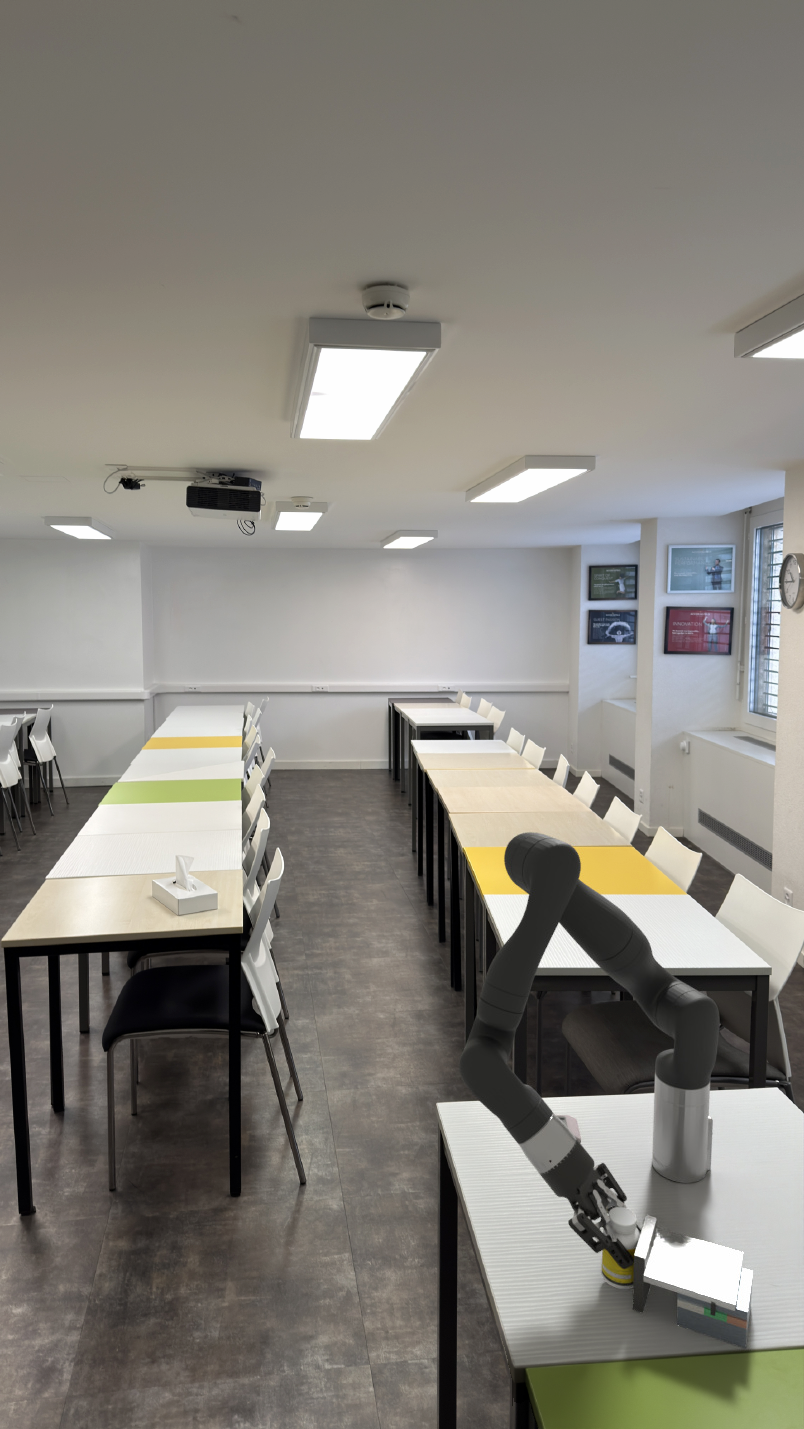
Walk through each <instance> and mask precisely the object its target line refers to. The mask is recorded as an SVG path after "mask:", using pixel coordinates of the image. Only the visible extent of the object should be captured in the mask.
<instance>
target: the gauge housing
mask: <svg viewBox="0 0 804 1429" xmlns="http://www.w3.org/2000/svg"><path fill="white" fill-rule="evenodd" d="M753 1272H754V1271H753V1270H750V1269H747V1268H744V1267H741V1273H740V1280H739V1287H738V1294H737V1301H736V1307H735V1311H733V1310H730V1309H727V1308H724V1307H721V1306H718V1305H716V1314H715V1316H713V1315H710V1313H711V1303H708V1302H705V1301H702V1300H699V1299H696V1298H693V1297H690V1296H687V1295H684V1294H681V1293H678V1292H677V1301H676V1303H677V1304H676V1308H677V1309H676V1310H677V1311H676V1326H678V1325H679V1326H678V1327H681V1326H682V1328H684V1329H686V1328H688V1329H687V1330H689V1329H690V1330H689V1331H692V1332H695V1333H698V1334H701V1335H705V1336H706V1337H707V1336H708V1337H711V1338H713V1339H716V1340H720V1341H721V1342H722V1341H723V1342H725V1343H727V1344H731V1345H734V1346H737V1347H740V1348H743V1349H746V1348H747V1341H748V1333H749V1332H748V1331H749V1325H750V1324H749V1323H750V1315H751V1310H752V1309H751V1308H752V1291H753V1274H754V1273H753Z"/></svg>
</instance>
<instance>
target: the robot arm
mask: <svg viewBox="0 0 804 1429" xmlns="http://www.w3.org/2000/svg"><path fill="white" fill-rule="evenodd" d="M503 857H504V858H503V859H504V860H503V862H504V866H505V871H506V873H507V876H508V877H509V879H510V880H511V881H512V882H513V883H514V885H516V886H517V887H518V888H520V889H521V890H523V891H524V892H525V893H526V894H528V897H527V903H526V906H525V909H524V912H523V915H522V918H521V920H520V922H519V924H518V926H517V927H516V928H515V930H514V932H513V933H512V934H511V936H510V937H509V938H508V939H507V941H506V942H505V943H504V944H503V945H502V947H501V948H500V949H499V950H498V952H497V953H496V954H495V956H494V958H493V959H492V961H491V963H490V965H489V968H488V971H487V972H486V974H485V978H484V981H483V982H484V983H483V985H482V989H481V991H480V995H479V998H478V1003H477V1008H476V1016H475V1018H474V1022H473V1025H472V1028H471V1030H470V1033H469V1036H468V1039H467V1040H466V1044H465V1045H464V1049H463V1051H462V1052H461V1055H460V1057H459V1061H458V1071H459V1075H460V1078H461V1080H462V1081H463V1083H464V1085H465V1086H466V1088H467V1089H468V1090H469V1091H470V1093H471V1094H472V1095H473V1096H474V1097H475V1098H476V1099H477V1100H478V1101H479V1102H480V1103H481V1104H482V1105H483V1106H484V1107H485V1108H486V1109H487V1110H488V1111H489V1112H491V1114H493V1115H494V1116H495V1117H496V1118H498V1119H499V1121H500V1122H501V1123H502V1125H503V1127H504V1128H505V1129H506V1131H507V1132H508V1133H509V1134H510V1136H511V1137H512V1138H513V1139H514V1141H515V1142H516V1143H517V1144H518V1146H519V1148H520V1149H521V1150H522V1152H523V1153H524V1154H523V1155H525V1157H526V1158H527V1160H528V1161H529V1163H530V1164H531V1165H532V1166H533V1167H534V1169H535V1170H536V1172H538V1174H539V1176H540V1177H541V1178H542V1179H543V1181H545V1183H546V1184H547V1185H548V1186H549V1188H550V1189H551V1190H552V1192H553V1193H554V1195H556V1196H557V1197H558V1198H565V1199H566V1200H567V1201H568V1202H569V1204H570V1206H571V1208H572V1210H573V1217H572V1218H570V1219H568V1225H569V1228H571V1229H572V1231H573V1232H574V1233H575V1234H576V1235H577V1236H578V1237H579V1238H581V1240H583V1242H584V1243H585V1244H587V1245H588V1247H589V1248H590V1249H591V1250H592V1251H593V1252H594V1253H596V1254H598V1253H600V1252H602V1250H604V1249H605V1250H607V1251H608V1253H609V1254H610V1255H611V1256H612V1258H613V1259H614V1260H615V1261H616V1263H617V1264H618V1265H619V1266H620V1267H621V1268H622V1269H626V1268H628V1267H630V1266H632V1265H633V1263H634V1258H633V1257H632V1256H631V1254H630V1253H629V1252H628V1251H627V1249H626V1248H625V1247H624V1246H623V1244H622V1243H621V1242H620V1240H619V1239H618V1238H616V1236H615V1234H614V1232H613V1230H612V1228H611V1226H610V1218H609V1211H610V1210H611V1209H613V1208H615V1207H624V1208H627V1206H626V1204H625V1202H626V1201H627V1200H628V1197H627V1195H626V1193H625V1192H624V1190H623V1189H622V1187H621V1186H620V1184H619V1183H618V1182H617V1180H616V1178H615V1177H614V1176H613V1174H612V1172H611V1171H610V1169H609V1167H608V1166H607V1164H605V1163H604V1162H601V1163H599V1164H598V1165H596V1166H595V1164H596V1163H595V1160H594V1158H592V1156H591V1155H590V1153H589V1152H588V1151H587V1150H586V1148H584V1146H583V1144H581V1142H579V1141H578V1140H577V1139H576V1137H575V1136H574V1135H573V1134H572V1132H571V1131H570V1130H569V1129H568V1127H567V1126H566V1125H565V1124H564V1123H563V1122H562V1121H561V1120H560V1119H559V1118H558V1117H557V1116H556V1115H557V1114H556V1113H555V1112H554V1111H552V1109H551V1108H550V1106H549V1105H548V1104H547V1102H546V1101H545V1100H544V1099H543V1098H542V1096H541V1095H540V1094H539V1093H538V1092H537V1091H536V1090H535V1089H534V1088H533V1087H532V1086H531V1085H528V1084H527V1083H526V1084H525V1083H523V1081H522V1080H521V1079H520V1078H519V1077H518V1076H517V1075H516V1073H515V1072H514V1071H513V1070H512V1069H511V1068H510V1066H509V1065H508V1063H509V1060H510V1055H511V1052H512V1049H513V1048H512V1047H513V1044H514V1040H515V1035H516V1032H517V1028H518V1027H519V1024H520V1022H521V1020H522V1018H523V1014H524V1012H525V1008H526V1005H527V1002H528V999H529V995H530V992H531V989H532V985H533V983H534V980H535V977H536V975H537V974H536V973H537V971H538V968H539V967H540V963H541V961H542V958H543V956H544V954H545V952H546V950H547V948H548V945H549V943H550V942H551V939H552V937H553V935H554V934H555V931H556V930H557V928H558V925H559V924H560V925H561V927H562V928H563V929H564V930H565V931H566V933H567V934H568V935H569V936H570V937H571V938H572V939H573V941H575V943H576V944H577V945H579V947H580V948H581V949H582V950H583V952H585V954H586V955H587V956H588V957H589V958H590V959H591V960H592V961H593V962H594V963H595V964H596V965H597V966H598V967H599V968H600V969H602V971H603V972H604V973H606V974H607V975H608V976H609V977H610V978H611V979H613V981H615V982H616V983H617V984H618V985H620V986H621V987H622V988H624V989H626V991H627V992H628V993H629V994H630V996H632V997H633V999H634V1000H635V1001H636V1003H637V1004H638V1005H639V1007H640V1008H641V1010H642V1011H643V1012H644V1013H645V1015H646V1016H647V1018H648V1019H649V1021H650V1022H651V1023H653V1026H655V1027H656V1028H658V1029H659V1030H660V1031H661V1032H663V1033H664V1034H666V1035H668V1036H669V1037H671V1038H672V1040H674V1042H673V1043H674V1045H673V1048H670V1049H665V1050H663V1051H661V1052H659V1053H658V1054H657V1056H656V1058H655V1062H654V1063H655V1065H654V1066H655V1067H654V1071H655V1072H654V1098H653V1121H652V1122H653V1125H652V1126H653V1127H652V1152H651V1153H652V1155H651V1156H652V1159H651V1164H652V1167H653V1168H654V1170H655V1171H656V1172H657V1173H658V1174H659V1175H661V1177H664V1178H666V1179H668V1180H671V1181H673V1182H677V1183H684V1184H687V1183H689V1184H691V1183H696V1182H698V1181H701V1180H702V1179H704V1177H705V1176H706V1174H707V1171H709V1170H712V1149H713V1148H712V1146H713V1126H714V1123H713V1122H714V1120H713V1118H712V1117H711V1116H710V1115H709V1114H710V1099H711V1098H710V1096H711V1095H710V1093H711V1075H712V1072H713V1069H714V1067H715V1065H716V1061H717V1054H718V1044H719V1043H718V1042H719V1035H720V1034H719V1033H720V1011H719V1008H718V1006H717V1004H716V1002H715V1000H713V998H711V997H710V996H708V995H706V994H705V993H703V992H701V991H699V990H697V989H695V988H693V987H692V986H691V985H689V984H687V983H685V982H683V981H682V980H680V979H678V977H675V976H674V975H672V973H670V972H669V971H667V970H666V968H664V967H663V966H662V965H661V964H660V963H659V962H658V961H657V960H656V958H655V957H654V955H653V950H652V947H651V943H650V941H649V939H648V937H647V936H646V935H645V933H644V932H643V931H642V930H641V928H640V927H638V925H637V924H636V923H635V922H634V921H633V920H632V918H630V916H628V915H627V913H625V911H623V910H622V909H621V908H619V906H617V905H616V904H614V903H613V902H612V901H610V900H609V899H608V898H607V897H605V896H603V895H602V894H600V893H599V892H598V891H596V890H594V889H593V888H592V887H590V886H589V885H587V884H586V883H584V881H581V880H580V875H581V869H582V863H581V859H580V855H579V853H578V851H577V850H576V848H574V847H573V846H572V845H571V844H569V843H567V842H566V841H563V840H560V839H559V838H555V837H553V836H550V835H546V834H544V833H540V832H533V831H532V832H531V831H529V832H523V833H520V834H517V835H516V836H514V837H513V838H512V839H511V840H510V841H509V842H508V843H507V845H506V848H505V850H504V856H503ZM611 1189H612V1190H611ZM627 1209H628V1208H627ZM598 1219H600V1220H599V1221H598V1222H596V1223H594V1221H596V1220H598ZM636 1227H637V1229H638V1230H639V1232H640V1234H641V1231H642V1229H641V1228H640V1227H639V1225H638V1224H637V1226H636ZM601 1228H602V1229H603V1228H604V1230H605V1232H606V1234H607V1236H605V1234H604V1233H603V1230H601ZM594 1238H595V1239H594Z"/></svg>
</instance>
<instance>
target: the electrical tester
mask: <svg viewBox="0 0 804 1429" xmlns="http://www.w3.org/2000/svg"><path fill="white" fill-rule="evenodd" d="M555 1115H556V1116H557V1117H558V1118H559V1119H560V1120H561V1121H562V1122H563V1123H564V1124H565V1125H566V1126H567V1127H568V1129H569V1130H570V1131H571V1132H572V1134H573V1135H574V1136H575V1137H576V1139H577V1140H578V1141H579V1142H580V1143H581V1142H582V1137H581V1133H580V1132H581V1131H580V1128H579V1123H578V1120H577V1118H576V1117H574V1116H572V1115H568V1114H555Z"/></svg>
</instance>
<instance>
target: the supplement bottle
mask: <svg viewBox="0 0 804 1429" xmlns="http://www.w3.org/2000/svg"><path fill="white" fill-rule="evenodd" d="M608 1216H609V1218H610V1226H611V1228H612V1230H613V1232H614V1234H615V1236H616V1238H618V1239H619V1240H620V1242H621V1243H622V1244H623V1246H624V1247H625V1248H626V1249H627V1251H628V1252H629V1253H630V1254H631V1256H632V1257H633V1258H634V1254H635V1251H636V1247H637V1244H638V1241H639V1238H640V1232H639V1230H638V1229H637V1227H636V1226H637V1225H638V1223H637V1215H636V1213H635V1212H633V1210H632V1209H630V1208H624V1207H615V1208H613V1209H611V1210H610V1211H609V1214H608ZM602 1232H603V1233H604V1234H605V1236H607V1234H606V1232H605V1230H604V1228H602ZM600 1266H601V1268H600V1269H601V1270H600V1271H601V1272H600V1273H601V1276H602V1279H603V1280H604V1281H605V1282H606V1283H607V1284H608V1285H610V1286H611V1287H614V1288H615V1289H620V1290H629V1289H631V1288H632V1289H633V1276H634V1263H633V1265H632V1266H630V1267H628V1268H626V1269H622V1268H621V1267H620V1266H619V1265H618V1264H617V1263H616V1261H615V1260H614V1259H613V1258H612V1256H611V1255H610V1254H609V1253H608V1251H607V1250H605V1249H604V1250H602V1251H601V1264H600Z"/></svg>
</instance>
